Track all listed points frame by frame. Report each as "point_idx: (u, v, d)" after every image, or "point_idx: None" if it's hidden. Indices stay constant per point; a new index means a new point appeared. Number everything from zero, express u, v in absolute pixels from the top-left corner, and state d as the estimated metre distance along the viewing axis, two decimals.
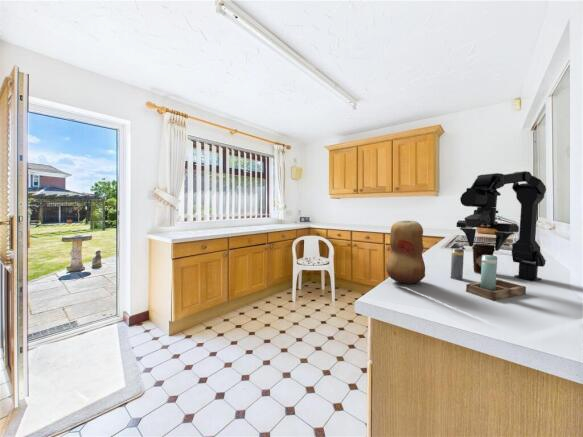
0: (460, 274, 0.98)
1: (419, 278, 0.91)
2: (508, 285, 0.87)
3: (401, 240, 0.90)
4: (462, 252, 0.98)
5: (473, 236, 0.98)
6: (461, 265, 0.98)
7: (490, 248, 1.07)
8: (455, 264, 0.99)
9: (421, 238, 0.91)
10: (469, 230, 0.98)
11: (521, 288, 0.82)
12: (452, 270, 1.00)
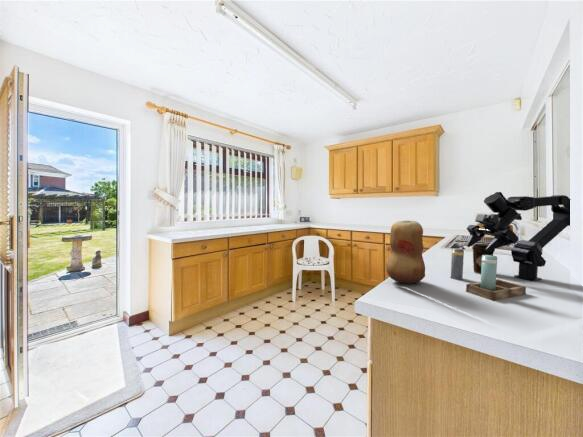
0: (460, 274, 0.98)
1: (419, 278, 0.91)
2: (508, 285, 0.87)
3: (401, 240, 0.90)
4: (462, 252, 0.98)
5: (475, 241, 1.05)
6: (461, 265, 0.98)
7: None
8: (455, 264, 0.99)
9: (421, 238, 0.91)
10: (475, 234, 1.05)
11: (521, 288, 0.82)
12: (452, 270, 1.00)
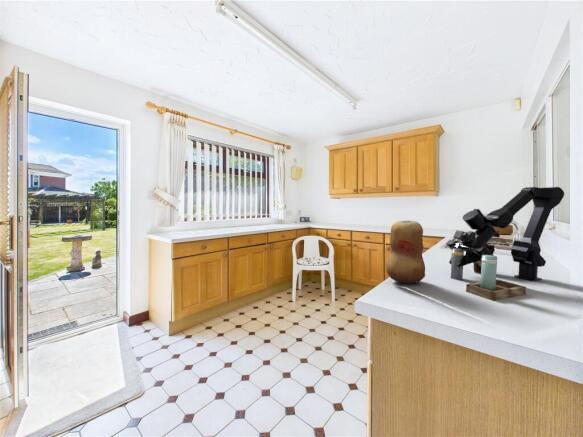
0: (460, 274, 0.98)
1: (419, 278, 0.91)
2: (508, 285, 0.87)
3: (401, 240, 0.90)
4: (462, 252, 0.98)
5: None
6: None
7: (490, 248, 1.07)
8: (455, 263, 0.99)
9: (421, 238, 0.91)
10: None
11: (521, 288, 0.82)
12: (452, 270, 1.00)
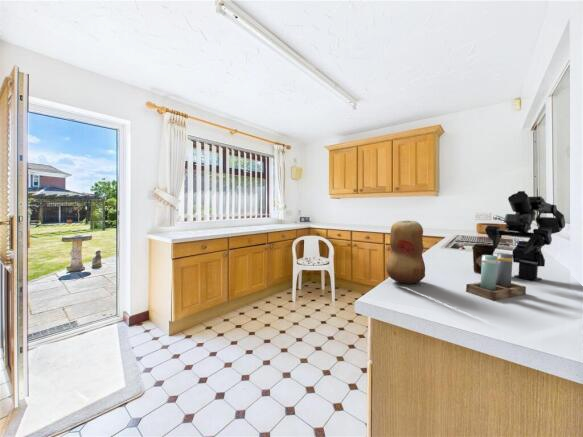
0: (510, 283, 0.84)
1: (419, 278, 0.91)
2: None
3: (401, 240, 0.90)
4: None
5: (497, 243, 0.99)
6: (511, 273, 0.84)
7: (490, 248, 1.07)
8: (506, 272, 0.84)
9: (421, 238, 0.91)
10: (497, 235, 0.99)
11: (521, 288, 0.82)
12: (501, 280, 0.84)
